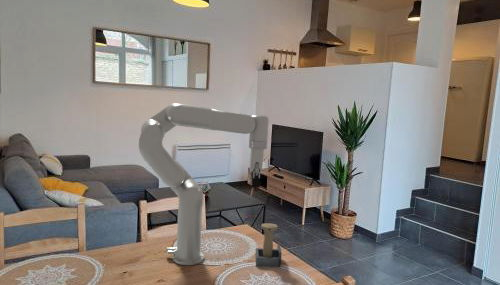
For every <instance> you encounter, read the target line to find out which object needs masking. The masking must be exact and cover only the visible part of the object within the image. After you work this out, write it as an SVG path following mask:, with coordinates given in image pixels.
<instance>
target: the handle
mask: <svg viewBox="0 0 500 285" xmlns="http://www.w3.org/2000/svg"><path fill="white" fill-rule="evenodd" d="M260 228H261V229H262V230H263V231H264V238H263V246H262V249H263V256H264V257H272V252H273V249H274V232H275V231H277V229H278V225H277V224H276V223H275V224H274V223H270V222H269V223H266V222H265V223H262V224H261V227H260Z"/></svg>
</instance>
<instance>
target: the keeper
mask: <svg viewBox="0 0 500 285" xmlns="http://www.w3.org/2000/svg"><path fill="white" fill-rule="evenodd" d="M276 244H277V247H276V248H273V252H272V257H264V256H263V247H262V248H261V247H259V248H258V247H256V248H255V254H254V255H255V257H254V258H255V260H254V261H255V267H270V268H271V267H272V268H281V267H282V249H281V243H276Z"/></svg>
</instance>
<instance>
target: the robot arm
mask: <svg viewBox="0 0 500 285" xmlns="http://www.w3.org/2000/svg"><path fill="white" fill-rule="evenodd" d="M178 126H179V127H185V128H195V129H203V130H208V131H220V132H226V133H227V132H228V133H234V134H235V133H236V134H241V135H246V134H249V138H248V140H249V141H248V142H249V143H248V148H249V149H250V160H249V172H250V173H251V174H252V175H251V182H252V183H251V187H252V188H254V189H255V188H256V189H258V188H260V187H261V173H262V171H263V163H264V155H265V154H264V152H265V150H267V149H268V148H267V147H268V136H269V135H268V133H269V117H268V116H267V115H263V114H262V115H261V114H253V115H251V114H245V113H236V112H235V113H234V112H229V111H223V110H219V109H215V108H212V107H206V106H205V107H204V106H198V105H197V106H196V105H193V104H192V105H191V104H184V103H177V102H173V103H170V104H169V105H167V106H166V107H164V108H163V109H162V110H160V111H159V112H158V113H156V114H154V115H153V116H151V117H150V118H149V119H147V120H146V121H145V122H143V123H142V126H141V128H140V132H141V133H140V135H139V140H138V150H139V154H140V156H141V157H142V159H143V160H144V162H146V163H147V164H148V166H149V167H150V168H151V170H153V172H154V173H155V175H157V177H158V178H159V179H160V180H161V181H162V183H163V184H164V185H165V186H167V187H169V188H170V189H171V190H172V192H174V193H175V195H176V196H177V198H178V207H177V208H178V209H177V234H176V235H177V236H176V238H177V239H176V246H173V247H171V246H169V247H168V246H166V250H165V252H166V253H167V255H172V261H173V262H174V263H176V264H178V265H180V266H182V265H183V266H194V265H198V264H201V263H202V262H203V261H204V259H205V254H204V253H203V252H202V251H201V246H202V217H203V206H204V198H205V197H204V192H203V190H202V188H201V187H200V185H199V184H198V183H197V181H196V180H195V179H194V178H193V177H192V176H191V175H190V173H189V172H188V171H187V170H186V169H185V168H184V166H182V165H181V164H180V162H179V161H177V160H175V159H174V158H173V157H172V156H171V155H170V153H169V152H168V151H167V150H166V149H165V148H164V146H163V145H164V144H163V140H164V138H165V135H166V134H167V133H168V132H169V131H171V130H172V129H173V128H175V127H178Z"/></svg>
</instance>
